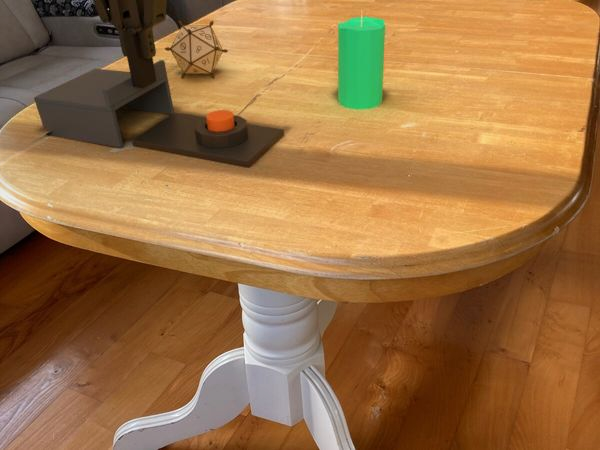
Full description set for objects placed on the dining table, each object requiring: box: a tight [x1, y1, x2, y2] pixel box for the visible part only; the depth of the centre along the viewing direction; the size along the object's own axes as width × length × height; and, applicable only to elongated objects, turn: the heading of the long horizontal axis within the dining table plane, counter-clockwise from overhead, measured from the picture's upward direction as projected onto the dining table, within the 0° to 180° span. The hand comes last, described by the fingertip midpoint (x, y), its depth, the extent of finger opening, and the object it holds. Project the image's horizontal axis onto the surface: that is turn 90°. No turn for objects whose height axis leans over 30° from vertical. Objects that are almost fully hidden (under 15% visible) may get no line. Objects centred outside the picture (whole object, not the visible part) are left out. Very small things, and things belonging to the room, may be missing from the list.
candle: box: [337, 10, 386, 110], centre depth 76 cm, size 6×6×12 cm
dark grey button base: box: [131, 111, 285, 169], centre depth 70 cm, size 16×9×2 cm, turn 66°
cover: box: [33, 59, 175, 148], centre depth 74 cm, size 12×11×7 cm
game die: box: [164, 20, 229, 79], centre depth 89 cm, size 9×8×10 cm
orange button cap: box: [205, 109, 235, 132], centre depth 69 cm, size 3×3×2 cm
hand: (144, 83), depth 70 cm, fingers closed
